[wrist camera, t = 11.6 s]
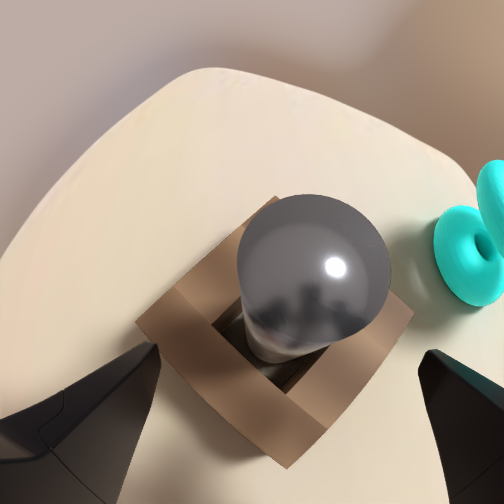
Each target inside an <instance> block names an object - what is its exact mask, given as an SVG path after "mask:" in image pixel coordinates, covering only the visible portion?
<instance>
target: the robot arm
mask: <svg viewBox="0 0 504 504" xmlns="http://www.w3.org/2000/svg"><path fill="white" fill-rule="evenodd" d="M160 369H161V360H160V354H159V349H158V345H157V344H156V343H155V342H149V341H144V342H142V343H140V344H139V345H137V346H135V347H134V348H132V349H131V350H129V351H127V352H126V353H124V354H122V355H121V356H119V357H117V358H116V359H114V360H112V361H111V362H109V363H107V364H106V365H104V366H102V367H101V368H99V369H97V370H96V371H94V372H92V373H91V374H89V375H87V376H85V377H84V378H82V379H80V380H79V381H77V382H75V383H74V384H72V385H70V386H68V387H67V388H65V389H64V390H61V391H60V392H58V393H56V394H55V395H53V396H51V397H49V398H47V399H45V400H43V401H42V402H39V403H37V404H35V405H33V406H31V407H29V408H26V409H24V410H22V411H19V412H17V413H15V414H12V415H10V416H8V417H5V418H3V419H0V504H116V503H117V500H118V497H119V494H120V491H121V488H122V485H123V482H124V479H125V476H126V474H127V471H128V468H129V465H130V462H131V459H132V457H133V454H134V451H135V448H136V446H137V443H138V440H139V437H140V435H141V432H142V429H143V427H144V424H145V421H146V419H147V416H148V414H149V411H150V408H151V404H152V401H153V397H154V393H155V389H156V385H157V381H158V377H159V373H160ZM418 376H419V380H420V384H421V389H422V393H423V397H424V402H425V406H426V410H427V413H428V417H429V420H430V423H431V426H432V430H433V433H434V437H435V440H436V444H437V448H438V451H439V455H440V459H441V463H442V468H443V472H444V477H445V481H446V486H447V491H448V497H449V503H450V504H504V388H503V387H501V386H499V385H498V384H496V383H494V382H493V381H491V380H489V379H487V378H486V377H484V376H482V375H481V374H479V373H477V372H476V371H474V370H472V369H470V368H469V367H467V366H465V365H464V364H462V363H460V362H458V361H457V360H455V359H453V358H452V357H450V356H448V355H446V354H445V353H443V352H441V351H440V350H438V349H432V350H428V351H427V352H426V353H425V355H424V357H423V359H422V361H421V363H420V365H419V368H418Z"/></svg>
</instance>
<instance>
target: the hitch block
mask: <svg viewBox="0 0 504 504" xmlns="http://www.w3.org/2000/svg"><path fill="white" fill-rule="evenodd" d="M278 200H280V199H279V198H278V197H276V196H274V197H273V198H272V199H271V200H269V201H268V202H267V203H266V204H265V205H264V206H262V207H261V208H260V209H259V210H258V211H257V212H256V213H254V214H253V215H252V216H251V217H250V218H249V219H247V220H246V221H245V222H244V223H243V224H242V225H241V226H239V227H238V228H237V229H236V230H235V231H234V232H233V233H232V234H230V235H229V236H228V237H227V238H226V239H225V240H224V241H222V242H221V243H220V244H219V245H218V246H217V247H216V248H215V249H214V250H212V251H211V252H210V253H209V254H208V255H207V256H206V257H205V258H203V259H202V260H201V261H200V262H199V263H198V264H197V265H196V266H195V267H193V268H192V269H191V270H190V271H189V272H188V273H187V274H186V275H185V276H184V277H182V278H181V279H180V280H179V281H178V282H177V283H176V284H175V285H174V286H173V287H172V288H171V289H169V290H168V291H167V292H166V293H165V294H164V295H163V296H162V297H161V298H160V299H159V300H158V301H156V302H155V303H154V304H153V305H152V306H151V307H150V308H149V309H148V310H147V311H146V312H145V313H144V314H143V315H142V316H140V317H139V318H138V319H137V320H136V321H135V323H136V324H137V325H138V326H139V328H140V329H141V330H142V331H143V333H144V334H145V335H146V336H147V337H148V339H149V340H150V341H151V342H155V343H156V344H157V345H158V349H159V352H160V353H161V354H162V355H163V356H164V357H165V359H166V360H167V361H168V362H169V363H170V364H171V365H172V366H173V367H174V369H175V370H176V371H177V372H178V373H179V374H180V375H181V376H182V377H183V378H184V379H185V380H186V381H187V382H188V384H189V385H190V386H191V387H192V388H193V389H194V390H195V391H196V392H197V393H198V394H199V395H200V396H201V397H202V398H203V399H204V400H205V401H206V402H207V403H208V404H209V405H210V406H212V407H213V408H214V409H215V410H216V411H217V412H218V413H219V414H220V415H221V416H222V417H223V418H224V419H225V420H227V421H228V422H229V423H230V424H231V425H232V426H233V427H234V428H236V429H237V430H238V431H239V432H240V433H241V434H242V435H244V436H245V437H246V438H247V439H248V440H250V441H251V442H252V443H253V444H254V445H256V446H257V447H258V448H259V449H261V450H262V451H263V452H264V453H266V454H267V455H268V456H269V457H271V458H272V459H273V460H275V461H276V462H277V463H279V464H280V465H281V466H283V467H284V468H285V469H288V468H289V467H290V466H291V465H292V464H293V463H294V462H296V461H297V460H298V459H299V458H300V457H301V456H302V455H303V454H304V453H305V452H306V451H307V450H308V449H309V448H310V447H311V446H312V445H313V444H314V443H315V442H316V441H317V440H318V439H319V438H320V437H321V436H322V435H323V434H324V433H325V432H326V431H327V430H328V429H329V428H330V427H331V425H332V424H333V423H334V422H335V421H336V420H337V419H338V418H339V417H340V415H341V414H342V413H343V412H344V411H345V410H346V409H347V407H348V406H349V405H350V404H351V403H352V401H353V400H354V399H355V398H356V397H357V395H358V394H359V393H360V392H361V390H362V389H363V388H364V387H365V385H366V384H367V383H368V381H369V380H370V379H371V377H372V376H373V375H374V373H375V372H376V371H377V369H378V368H379V367H380V365H381V364H382V362H383V361H384V360H385V358H386V357H387V355H388V354H389V352H390V351H391V349H392V348H393V347H394V345H395V344H396V342H397V340H398V339H399V337H400V336H401V334H402V333H403V331H404V329H405V328H406V326H407V325H408V323H409V321H410V320H411V318H412V316H413V315H414V313H415V312H414V311H413V310H412V309H410V308H409V307H408V306H407V305H406V304H405V303H404V302H403V301H402V300H401V299H400V298H399V297H397V296H396V295H395V294H394V293H393V292H392V291H391V290H390V289H389V292H388V295H387V299H386V301H385V303H384V305H383V307H382V309H381V310H380V312H379V313H378V315H377V316H376V317H375V318H374V319H373V321H372V322H371V323H370V324H368V325H367V326H366V327H365V328H364V329H362V330H361V331H359V332H357V333H356V334H354V335H352V336H350V337H347V338H345V339H343V340H340V341H338V342H336V343H333V344H331V345H328V346H326V347H323V348H321V349H318V350H316V351H315V352H314V353H313V354H312V355H311V356H310V358H309V359H308V360H307V361H306V362H305V363H304V364H303V365H302V366H301V368H300V369H299V370H298V371H297V372H296V373H295V374H294V375H293V376H292V377H291V378H290V379H289V380H288V381H287V382H286V383H285V385H284V386H283V387H282V388H281V389H279V388H277V387H276V386H275V385H274V384H273V383H272V382H271V381H269V380H268V379H267V378H266V377H265V376H264V375H263V374H262V373H261V372H259V371H258V370H257V369H256V368H255V367H254V366H253V365H252V364H251V363H250V362H249V361H248V360H246V359H245V358H244V357H243V356H242V355H241V354H240V353H239V352H238V351H237V350H236V349H235V348H234V347H233V346H232V345H231V344H230V343H229V342H228V341H227V340H226V339H225V338H224V337H223V336H222V335H221V334H220V333H221V332H222V331H223V330H224V329H225V328H226V327H228V326H229V325H230V324H231V323H232V322H233V321H234V320H235V319H236V318H237V317H238V316H239V315H240V314H241V313H242V312H243V310H242V302H241V295H240V288H239V280H238V273H237V253H238V247H239V243H240V240H241V237H242V235H243V233H244V231H245V229H246V228H247V226H248V224H249V223H250V222H251V220H252V219H253V218H254V217H255V216H256V215H257V214H258V213H259V212H260V211H261V210H262V209H264V208H265V207H267V206H268V205H270V204H272V203H274V202H276V201H278Z"/></svg>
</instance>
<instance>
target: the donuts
mask: <svg viewBox="0 0 504 504" xmlns="http://www.w3.org/2000/svg"><path fill="white" fill-rule="evenodd" d="M477 201H478V206H479V210H480V211H479V210H477V209H475V208H473V207H470V206H463V205H460V206H455V207H452V208H450V209H448V210H446V211H445V212H444V213H443V214H442V215H441V217H440V218H439V220H438V222H437V224H436V227H435V231H434V240H433V244H434V253H435V258H436V262H437V265H438V268H439V270H440V273H441V275H442V277H443V279H444V281H445V282H446V284H447V285H448V287H449V288H450V289H451V291H452V292H453V293H454V294H455V295H456V296H457V297H458V298H460V299H461V300H462V301H464V302H466V303H468V304H470V305H473V306H486V305H489V304H491V303H493V302H495V301H496V300H497V299H498V298H499V297H500V296H501V295H502V293H503V291H504V161H502V160H493V161H490V162H488V163H487V164H486V165H485V166H484V167H483V168H482V169H481V171H480V174H479V176H478V180H477ZM475 244H476V245H475ZM476 246H477V247H478V249H479V251H480V253H481V255H482V256H481V255H480V254H479V252H478V250H477V248H476Z"/></svg>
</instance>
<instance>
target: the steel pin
mask: <svg viewBox="0 0 504 504" xmlns="http://www.w3.org/2000/svg"><path fill="white" fill-rule="evenodd" d="M237 273H238V280H239V288H240V295H241V302H242V310H243V317H244V324H245V331H246V338H247V343H248V346H249V348H250V350H251V351H252V353H253V354H254V355H255V356H256V357H257V358H259V359H260V360H262V361H265V362H268V363H274V364H276V363H283V362H286V361H289V360H292V359H295V358H297V357H300V356H303V355H305V354H308V353H311V352H313V351H316V350H318V349H321V348H323V347H326V346H328V345H331V344H333V343H336V342H338V341H340V340H343V339H345V338H347V337H350V336H352V335H354V334H356V333H357V332H359V331H361V330H362V329H364V328H365V327H366V326H367V325H368V324H370V323H371V322H372V321H373V319H374V318H375V317H376V316H377V315H378V313H379V312H380V310H381V309H382V307H383V305H384V303H385V301H386V299H387V295H388V292H389V288H390V282H391V266H390V259H389V255H388V252H387V249H386V246H385V244H384V242H383V240H382V238H381V236H380V234H379V233H378V231H377V230H376V228H375V227H374V226H373V225H372V223H371V222H370V221H369V220H368V219H367V218H366V217H365V216H364V215H363V214H361V213H360V212H359V211H357V210H356V209H355V208H353V207H351V206H350V205H348V204H346V203H344V202H342V201H340V200H337V199H334V198H331V197H327V196H322V195H314V194H303V195H294V196H290V197H286V198H283V199H280V200H278V201H276V202H274V203H272V204H270V205H268V206H267V207H265V208H264V209H262V210H261V211H260V212H259V213H258V214H257V215H256V216H255V217H254V218H253V219H252V220H251V222H250V223H249V224H248V226H247V228H246V229H245V231H244V233H243V235H242V237H241V240H240V243H239V247H238V253H237Z"/></svg>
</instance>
